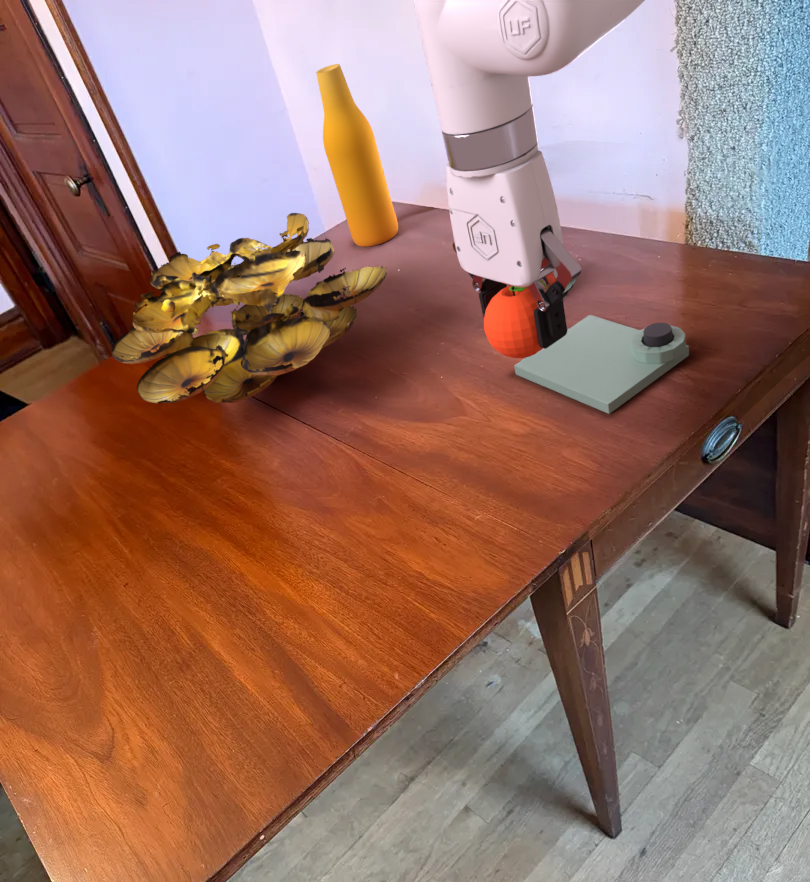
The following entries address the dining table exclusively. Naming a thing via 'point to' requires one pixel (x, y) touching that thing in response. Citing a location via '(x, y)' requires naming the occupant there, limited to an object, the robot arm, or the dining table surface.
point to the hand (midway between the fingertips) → (525, 330)
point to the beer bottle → (355, 162)
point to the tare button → (657, 335)
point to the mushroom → (240, 317)
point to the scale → (602, 362)
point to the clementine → (512, 322)
